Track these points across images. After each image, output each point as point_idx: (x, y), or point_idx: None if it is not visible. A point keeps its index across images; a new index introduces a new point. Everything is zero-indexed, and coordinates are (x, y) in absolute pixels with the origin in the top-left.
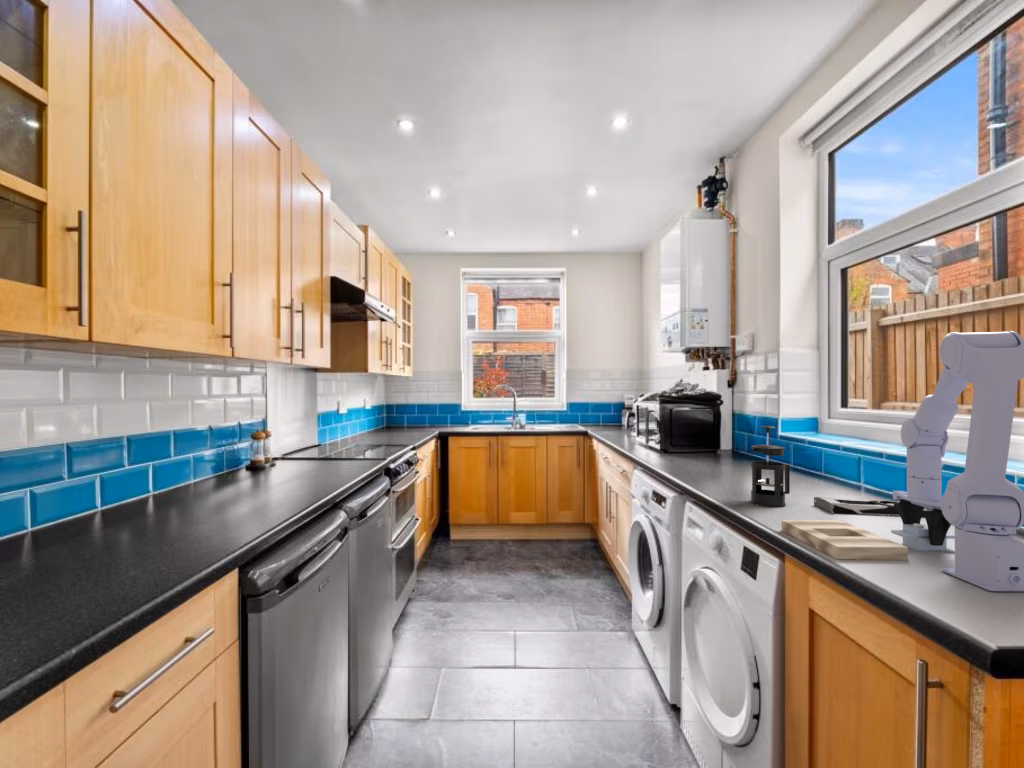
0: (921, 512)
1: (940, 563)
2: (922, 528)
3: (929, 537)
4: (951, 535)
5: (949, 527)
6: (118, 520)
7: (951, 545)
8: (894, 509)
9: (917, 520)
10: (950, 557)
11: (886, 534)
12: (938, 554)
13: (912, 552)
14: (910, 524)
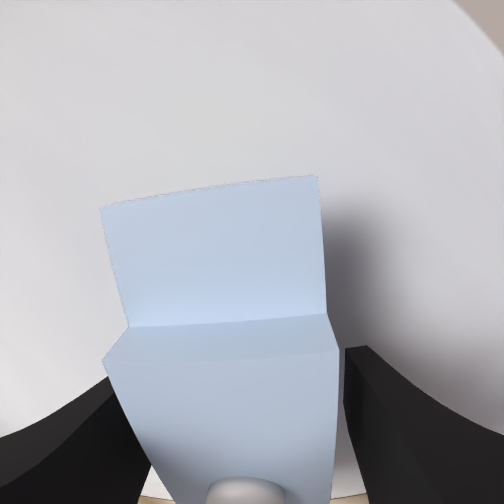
0: (33, 483)
1: (477, 411)
2: (300, 496)
3: (356, 445)
4: (310, 248)
5: (469, 422)
6: None
7: (164, 128)
8: None
9: (90, 449)
10: (434, 333)
11: (40, 370)
12: None
13: (347, 447)
14: (176, 494)
